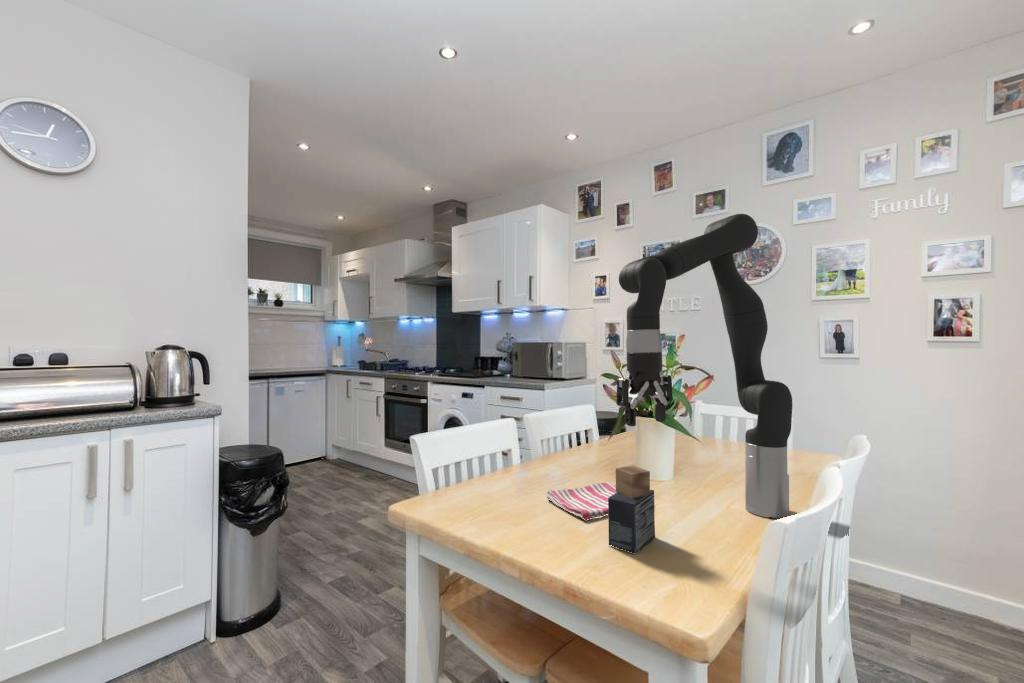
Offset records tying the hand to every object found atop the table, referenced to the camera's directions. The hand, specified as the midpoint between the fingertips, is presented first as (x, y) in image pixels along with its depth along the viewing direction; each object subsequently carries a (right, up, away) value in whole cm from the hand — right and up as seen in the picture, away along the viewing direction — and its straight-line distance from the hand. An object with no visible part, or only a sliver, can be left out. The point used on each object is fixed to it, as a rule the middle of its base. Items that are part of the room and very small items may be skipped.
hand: (645, 423), depth 97 cm
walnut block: (-4, -14, -3) cm, 15 cm away
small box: (-4, -25, -3) cm, 26 cm away
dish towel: (-7, -26, +20) cm, 33 cm away
